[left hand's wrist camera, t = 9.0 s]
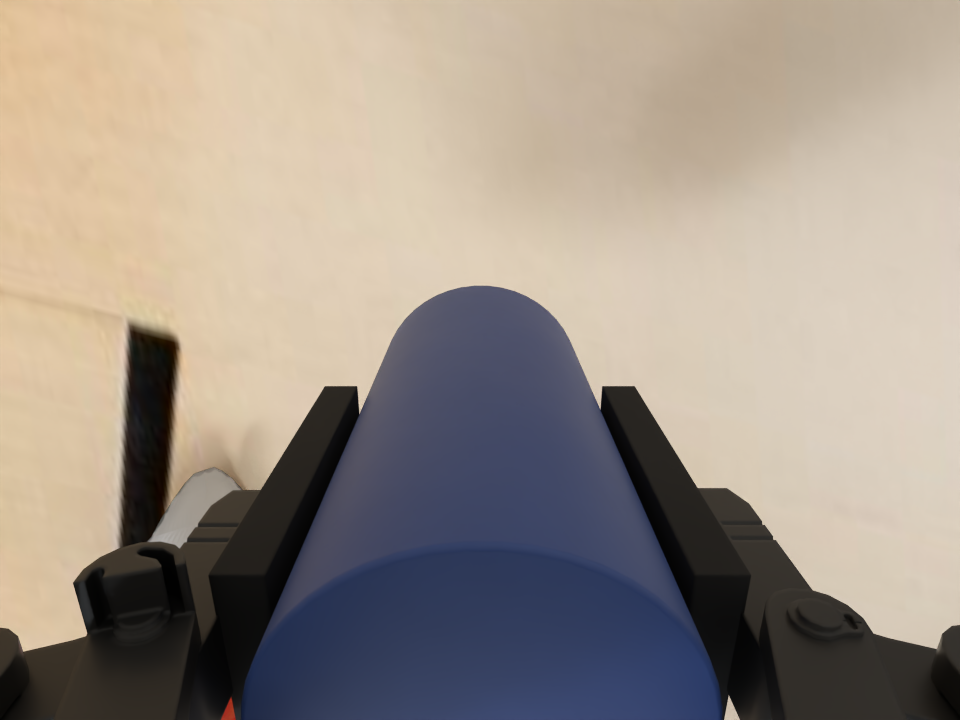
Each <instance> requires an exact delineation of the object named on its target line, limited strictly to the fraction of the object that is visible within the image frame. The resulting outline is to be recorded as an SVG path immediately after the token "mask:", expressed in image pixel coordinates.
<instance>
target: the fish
mask: <svg viewBox="0 0 960 720" xmlns="http://www.w3.org/2000/svg"><path fill="white" fill-rule="evenodd" d="M233 490H242V489H241V488H240V487H239V485H238V484H237V483H236V482H235V481H234V480H233V479H232V478H231V477H230V476H228V475H227V474H226V473H225V472H223V471H221V470H219V469H217V468H215V467H213V468H210V469H207V470H204V471H200V472H197V473H195V474H193V475H192V476H191V477H190V479H189V480H188V481H187V482H186V483H185V484H184V485H183V487H182V488H181V489H180V491H179V492H178V494H177V495H176V496H175V498H174V499H173V501H172V502H171V504H170V505H169V507H168V509H167V510H166V512H165V514H164V515H163V517H162V519H161V520H160V522H159V524H158V526H157V528H156V530H155V532H154V533H153V535H152V537H151V538H150V539H149V540H148V542H159V541H161V542H165V543H169V544H174V545H176V546H177V547H178V548H180V547H181V546H182V545H183V543H184V542H187V538H188V536H189V535H190V534H191V532H192V531H193V530H194V528H195V527H198V523H199V521H200V520H201V519H202V517H203V516H204V514H205V513H206V512H207V510H208V509H209V508H210V506H211V505H213V504H214V503H215V502H217V501H218V500H220V499H221V498H223V497H224V496H225V495H227V494H228V493H230V492H231V491H233ZM221 720H236V719H235V714H234V708H233V703H232V698H230V700H229V703H228V705H227V707H226V709H225V712H224V714H223V716H222V718H221Z"/></svg>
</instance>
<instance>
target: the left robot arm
mask: <svg viewBox="0 0 960 720" xmlns="http://www.w3.org/2000/svg"><path fill="white" fill-rule="evenodd" d="M601 413H602V415H603V417H604V419H605V422H606V424H607V426H608V429H609V431H610V433H611V435H612V438H613V440H614V442H615V444H616V447H617V449H618V451H619V454H620V456H621V458H622V460H623V463H624V465H625V467H626V469H627V472H628V474H629V476H630V479H631V481H632V483H633V485H634V488H635V490H636V492H637V494H638V497H639V499H640V501H641V504H642V506H643V508H644V510H645V513H646V515H647V517H648V519H649V522H650V524H651V526H652V529H653V531H654V533H655V535H656V538H657V540H658V542H659V544H660V547H661V549H662V551H663V553H664V556H665V558H666V560H667V563H668V565H669V567H670V569H671V572H672V574H673V576H674V578H675V581H676V583H677V585H678V588H679V590H680V592H681V594H682V597H683V599H684V601H685V603H686V606H687V608H688V610H689V613H690V615H691V617H692V619H693V622H694V624H695V626H696V628H697V631H698V633H699V635H700V638H701V640H702V642H703V644H704V647H705V649H706V651H707V653H708V656H709V658H710V660H711V663H712V666H713V669H714V671H715V674H716V677H717V680H718V683H719V688H720V694H721V700H722V720H724V717H725V712H726V706H727V701H728V696H730V698H731V701H732V703H733V705H734V707H735V710H736V712H737V714H738V716H739V719H740V720H960V625H957V626H951V627H950V628H949V629H948V630H946V631H945V632H944V633H943V634H942V636H941V639H940V642H939V645H938V648H937V649H933V648H929V647H925V646H920V645H916V644H912V643H907V642H903V641H898V640H894V639H890V638H886V637H883V636H879V635H876V634H873V632H872V631H871V629H870V628H869V626H868V625H867V623H866V622H865V620H864V619H863V618H862V617H861V616H860V615H859V614H857V613H856V612H855V611H854V610H853V609H851V608H850V607H849V606H848V605H846V604H844V603H842V602H840V601H838V600H837V599H835V598H833V597H831V596H829V595H826V594H823V593H819V592H816V591H813V590H812V589H811V588H810V586H809V585H808V584H807V582H806V581H805V579H804V578H803V577H802V575H801V574H800V573H799V571H798V570H797V569H796V567H795V566H794V564H793V563H792V562H791V560H790V559H789V558H788V556H787V555H786V554H785V552H784V551H783V549H782V548H781V547H780V545H779V544H778V543H777V541H776V540H773V536H772V534H771V533H770V532H769V530H768V529H767V528H766V526H765V525H762V521H761V519H760V518H759V517H758V515H757V514H756V513H755V511H754V510H753V509H752V507H751V506H750V504H749V503H747V502H746V501H744V500H743V499H742V498H740V497H739V496H737V495H736V494H734V493H733V492H731V491H730V490H729V489H727V488H697V487H696V485H695V483H694V482H693V480H692V478H691V477H690V475H689V474H688V472H687V470H686V469H685V467H684V466H683V464H682V462H681V461H680V459H679V457H678V456H677V454H676V453H675V451H674V449H673V448H672V446H671V444H670V443H669V441H668V440H667V438H666V436H665V435H664V433H663V432H662V430H661V428H660V427H659V425H658V423H657V422H656V420H655V419H654V417H653V415H652V414H651V412H650V411H649V409H648V407H647V406H646V404H645V402H644V401H643V399H642V398H641V396H640V394H639V393H638V391H637V390H636V388H635V386H602V399H601ZM358 417H359V404H358V391H357V386H325V387H324V389H323V391H322V392H321V394H320V395H319V397H318V399H317V400H316V402H315V403H314V405H313V407H312V408H311V410H310V412H309V413H308V415H307V416H306V418H305V420H304V421H303V423H302V424H301V426H300V428H299V429H298V431H297V433H296V434H295V436H294V437H293V439H292V441H291V442H290V444H289V445H288V447H287V449H286V450H285V452H284V454H283V455H282V457H281V458H280V460H279V462H278V463H277V465H276V466H275V468H274V470H273V471H272V473H271V475H270V476H269V478H268V479H267V481H266V483H265V484H264V486H263V487H262V489H261V490H233V491H231V492H230V493H228V494H227V495H225V496H224V497H223V498H221V499H220V500H218V501H217V502H215V503H214V504H213V505H211V506H210V508H209V509H208V510H207V512H206V513H205V514H204V516H203V517H202V519H201V520H200V521H199V523H198V527H195V528H194V530H193V531H192V532H191V534H190V535H189V536H188V538H187V542H184V543H183V545H182V546H181V547H180V548H178V547H177V546H176V545H174V544H169V543H165V542H161V541H159V542H142V543H137V544H134V545H130V546H126V547H122V548H119V549H117V550H115V551H113V552H111V553H108V554H106V555H104V556H102V557H100V558H98V559H97V560H96V561H94V562H93V563H92V564H90V565H89V566H87V567H86V568H85V569H83V571H82V572H81V573H80V575H79V576H78V577H77V578H76V580H75V581H74V582H73V584H74V588H75V591H76V595H77V598H78V602H79V605H80V609H81V612H82V616H83V619H84V623H85V626H86V630H87V636H86V637H82V638H79V639H76V640H72V641H68V642H64V643H60V644H55V645H51V646H47V647H42V648H38V649H34V650H29V651H25V652H23V650H22V647H21V644H20V641H19V638H18V636H17V635H16V634H14V633H13V632H12V631H11V630H9V629H6V628H0V720H221V718H222V716H223V714H224V712H225V709H226V707H227V705H228V703H229V700H230V698H232V703H233V708H234V714H235V719H236V720H241V701H242V695H243V690H244V685H245V680H246V677H247V675H248V672H249V669H250V667H251V664H252V662H253V659H254V656H255V654H256V652H257V650H258V647H259V645H260V643H261V640H262V638H263V636H264V633H265V631H266V629H267V627H268V624H269V622H270V620H271V617H272V615H273V613H274V610H275V608H276V606H277V603H278V601H279V599H280V597H281V594H282V592H283V590H284V587H285V585H286V583H287V580H288V578H289V576H290V574H291V571H292V569H293V567H294V564H295V562H296V560H297V557H298V555H299V553H300V550H301V548H302V546H303V544H304V541H305V539H306V537H307V534H308V532H309V530H310V527H311V525H312V523H313V521H314V518H315V516H316V514H317V511H318V509H319V507H320V504H321V502H322V500H323V498H324V495H325V493H326V491H327V488H328V486H329V484H330V481H331V479H332V477H333V474H334V472H335V470H336V468H337V465H338V463H339V461H340V458H341V456H342V454H343V451H344V449H345V447H346V445H347V442H348V440H349V438H350V435H351V433H352V431H353V428H354V426H355V424H356V421H357V419H358Z"/></svg>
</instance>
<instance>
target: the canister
mask: <svg viewBox="0 0 960 720" xmlns="http://www.w3.org/2000/svg"><path fill="white" fill-rule="evenodd" d="M241 720H722V700H721V694H720V688H719V683H718V680H717V677H716V674H715V671H714V669H713V666H712V663H711V660H710V658H709V656H708V653H707V651H706V649H705V647H704V644H703V642H702V640H701V638H700V635H699V633H698V631H697V628H696V626H695V624H694V622H693V619H692V617H691V615H690V613H689V610H688V608H687V606H686V603H685V601H684V599H683V597H682V594H681V592H680V590H679V588H678V585H677V583H676V581H675V578H674V576H673V574H672V572H671V569H670V567H669V565H668V563H667V560H666V558H665V556H664V553H663V551H662V549H661V547H660V544H659V542H658V540H657V538H656V535H655V533H654V531H653V529H652V526H651V524H650V522H649V519H648V517H647V515H646V513H645V510H644V508H643V506H642V504H641V501H640V499H639V497H638V494H637V492H636V490H635V488H634V485H633V483H632V481H631V479H630V476H629V474H628V472H627V469H626V467H625V465H624V463H623V460H622V458H621V456H620V454H619V451H618V449H617V447H616V444H615V442H614V440H613V438H612V435H611V433H610V431H609V429H608V426H607V424H606V422H605V419H604V417H603V415H602V413H601V410H600V408H599V406H598V404H597V401H596V399H595V397H594V395H593V392H592V390H591V388H590V385H589V383H588V381H587V379H586V376H585V374H584V372H583V370H582V367H581V365H580V363H579V360H578V358H577V356H576V354H575V351H574V349H573V347H572V345H571V342H570V340H569V338H568V336H567V335H566V333H565V331H564V329H563V328H562V327H561V325H560V324H559V322H558V321H557V320H556V319H555V318H554V317H553V316H552V315H551V314H550V313H549V312H548V311H547V310H546V309H545V308H544V307H542V306H541V305H540V304H538V303H537V302H535V301H534V300H532V299H530V298H528V297H527V296H524V295H522V294H520V293H517V292H515V291H512V290H508V289H504V288H500V287H492V286H469V287H461V288H457V289H454V290H450V291H447V292H444V293H442V294H439V295H437V296H435V297H433V298H431V299H430V300H428V301H426V302H424V303H423V304H422V305H420V306H419V307H418V308H416V309H415V310H414V311H413V312H412V313H411V314H410V315H409V316H408V317H407V318H406V319H405V320H404V322H403V323H402V324H401V326H400V327H399V328H398V330H397V332H396V333H395V335H394V337H393V339H392V341H391V343H390V345H389V348H388V350H387V352H386V355H385V357H384V359H383V362H382V364H381V366H380V369H379V371H378V373H377V375H376V378H375V380H374V382H373V385H372V387H371V389H370V392H369V394H368V396H367V398H366V401H365V403H364V405H363V408H362V410H361V412H360V415H359V417H358V419H357V421H356V424H355V426H354V428H353V431H352V433H351V435H350V438H349V440H348V442H347V445H346V447H345V449H344V451H343V454H342V456H341V458H340V461H339V463H338V465H337V468H336V470H335V472H334V474H333V477H332V479H331V481H330V484H329V486H328V488H327V491H326V493H325V495H324V498H323V500H322V502H321V504H320V507H319V509H318V511H317V514H316V516H315V518H314V521H313V523H312V525H311V527H310V530H309V532H308V534H307V537H306V539H305V541H304V544H303V546H302V548H301V550H300V553H299V555H298V557H297V560H296V562H295V564H294V567H293V569H292V571H291V574H290V576H289V578H288V580H287V583H286V585H285V587H284V590H283V592H282V594H281V597H280V599H279V601H278V603H277V606H276V608H275V610H274V613H273V615H272V617H271V620H270V622H269V624H268V627H267V629H266V631H265V633H264V636H263V638H262V640H261V643H260V645H259V647H258V650H257V652H256V654H255V656H254V659H253V662H252V664H251V667H250V669H249V672H248V675H247V677H246V680H245V685H244V690H243V695H242V701H241Z"/></svg>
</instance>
